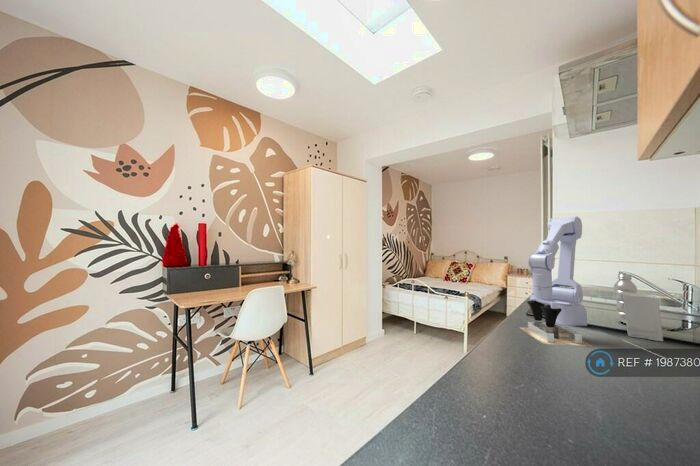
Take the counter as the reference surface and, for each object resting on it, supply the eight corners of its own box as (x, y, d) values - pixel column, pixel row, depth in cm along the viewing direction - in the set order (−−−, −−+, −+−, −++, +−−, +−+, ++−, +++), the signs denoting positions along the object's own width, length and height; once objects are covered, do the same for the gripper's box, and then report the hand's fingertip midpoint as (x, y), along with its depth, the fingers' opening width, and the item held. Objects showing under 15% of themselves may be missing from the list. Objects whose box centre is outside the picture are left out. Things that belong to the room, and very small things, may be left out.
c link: (558, 330, 93) (557, 322, 93) (582, 343, 81) (581, 334, 81) (528, 329, 94) (527, 321, 94) (547, 342, 82) (546, 333, 83)
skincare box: (661, 337, 88) (658, 294, 88) (663, 342, 83) (660, 297, 84) (625, 331, 94) (623, 291, 94) (626, 336, 89) (623, 294, 90)
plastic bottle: (645, 326, 98) (642, 275, 99) (624, 326, 100) (621, 275, 100) (630, 321, 105) (627, 273, 105) (611, 321, 106) (608, 273, 107)
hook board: (559, 331, 95) (559, 319, 95) (593, 349, 79) (592, 334, 79) (519, 330, 97) (518, 318, 97) (543, 347, 81) (542, 332, 81)
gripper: (520, 283, 101) (522, 317, 100) (541, 289, 87) (543, 329, 86) (540, 283, 100) (541, 318, 99) (564, 290, 85) (566, 330, 85)
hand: (544, 323), depth 93 cm, fingers open, 7 cm apart
